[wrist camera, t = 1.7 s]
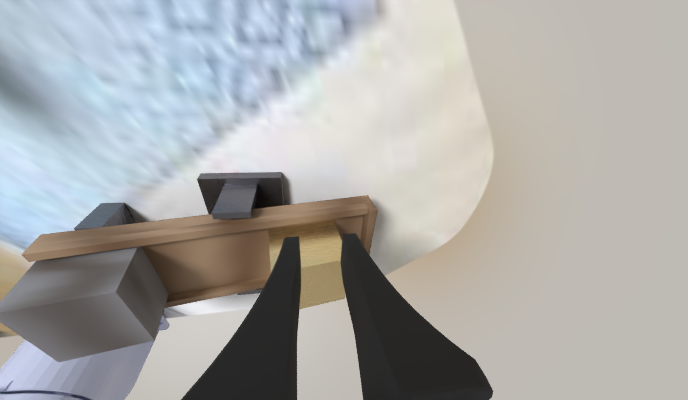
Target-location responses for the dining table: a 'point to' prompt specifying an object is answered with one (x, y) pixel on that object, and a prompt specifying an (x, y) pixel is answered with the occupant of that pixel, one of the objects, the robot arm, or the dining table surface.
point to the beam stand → (210, 200)
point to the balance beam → (151, 273)
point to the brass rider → (314, 260)
